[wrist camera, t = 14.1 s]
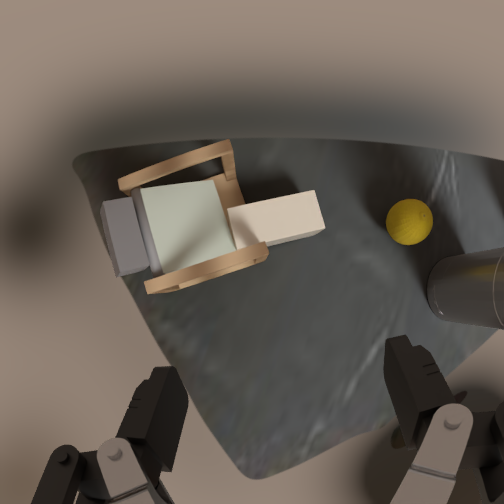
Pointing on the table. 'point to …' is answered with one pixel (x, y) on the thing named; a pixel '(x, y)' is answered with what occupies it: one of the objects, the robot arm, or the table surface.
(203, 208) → the door
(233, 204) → the frame
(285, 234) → the block
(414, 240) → the lemon
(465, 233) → the table surface
